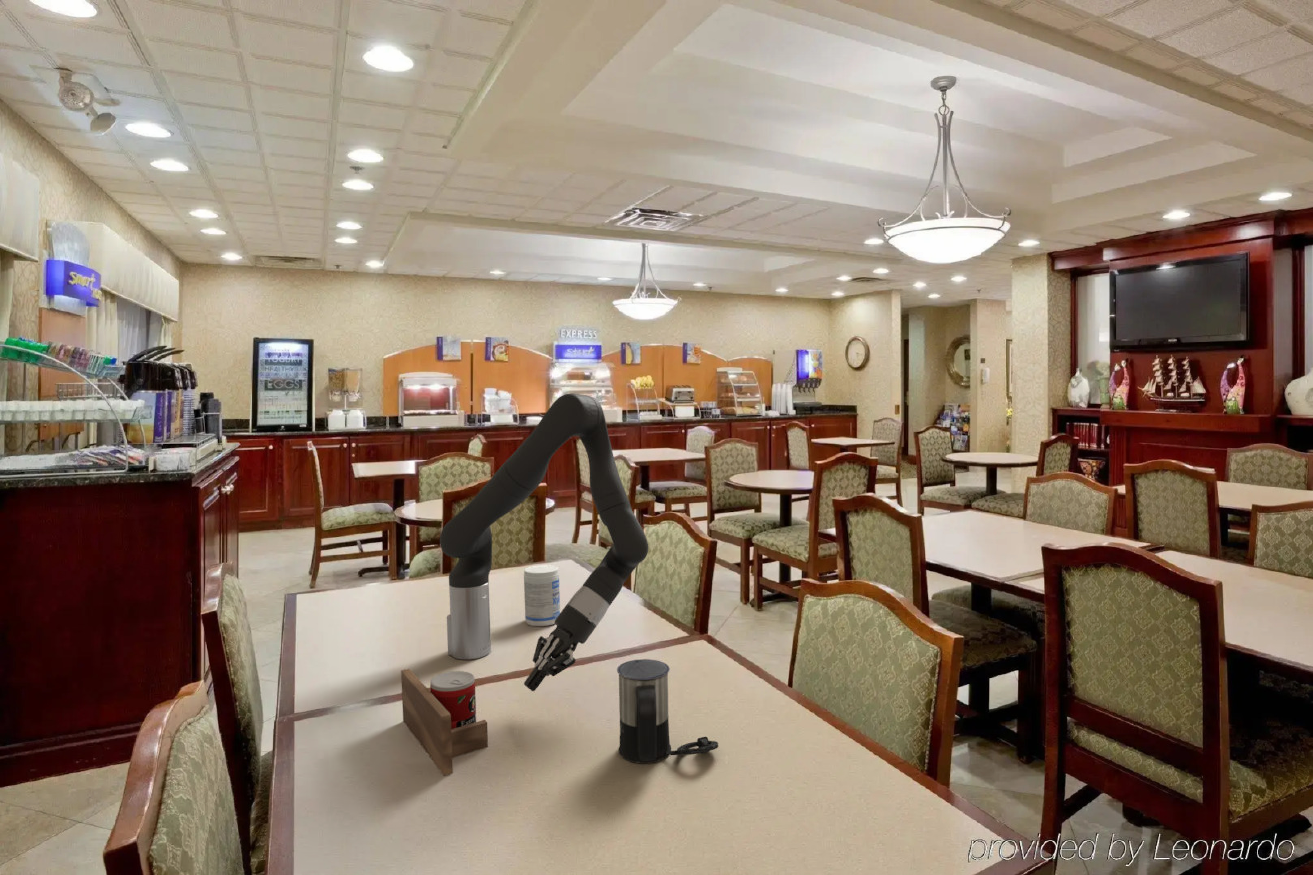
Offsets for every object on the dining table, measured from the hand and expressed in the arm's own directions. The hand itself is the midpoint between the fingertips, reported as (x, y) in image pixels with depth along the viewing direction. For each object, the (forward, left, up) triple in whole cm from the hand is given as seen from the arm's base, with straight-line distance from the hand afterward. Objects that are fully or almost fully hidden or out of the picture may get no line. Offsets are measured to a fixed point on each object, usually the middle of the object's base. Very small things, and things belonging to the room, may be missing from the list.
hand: (528, 688), depth 138 cm
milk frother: (+30, -5, -6) cm, 31 cm away
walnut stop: (-9, -13, -5) cm, 17 cm away
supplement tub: (-25, +50, -6) cm, 57 cm away
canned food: (-8, -12, -6) cm, 16 cm away
